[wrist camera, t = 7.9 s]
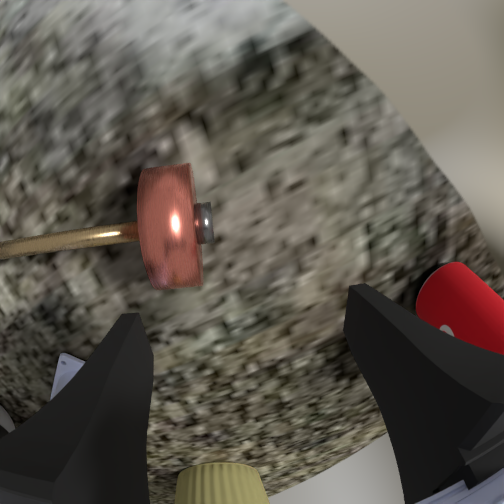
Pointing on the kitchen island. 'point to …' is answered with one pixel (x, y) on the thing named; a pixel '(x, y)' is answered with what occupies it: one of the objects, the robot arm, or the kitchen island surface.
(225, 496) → the potted cactus
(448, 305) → the beverage can
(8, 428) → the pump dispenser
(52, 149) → the kitchen island surface
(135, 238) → the copper knob on rod
